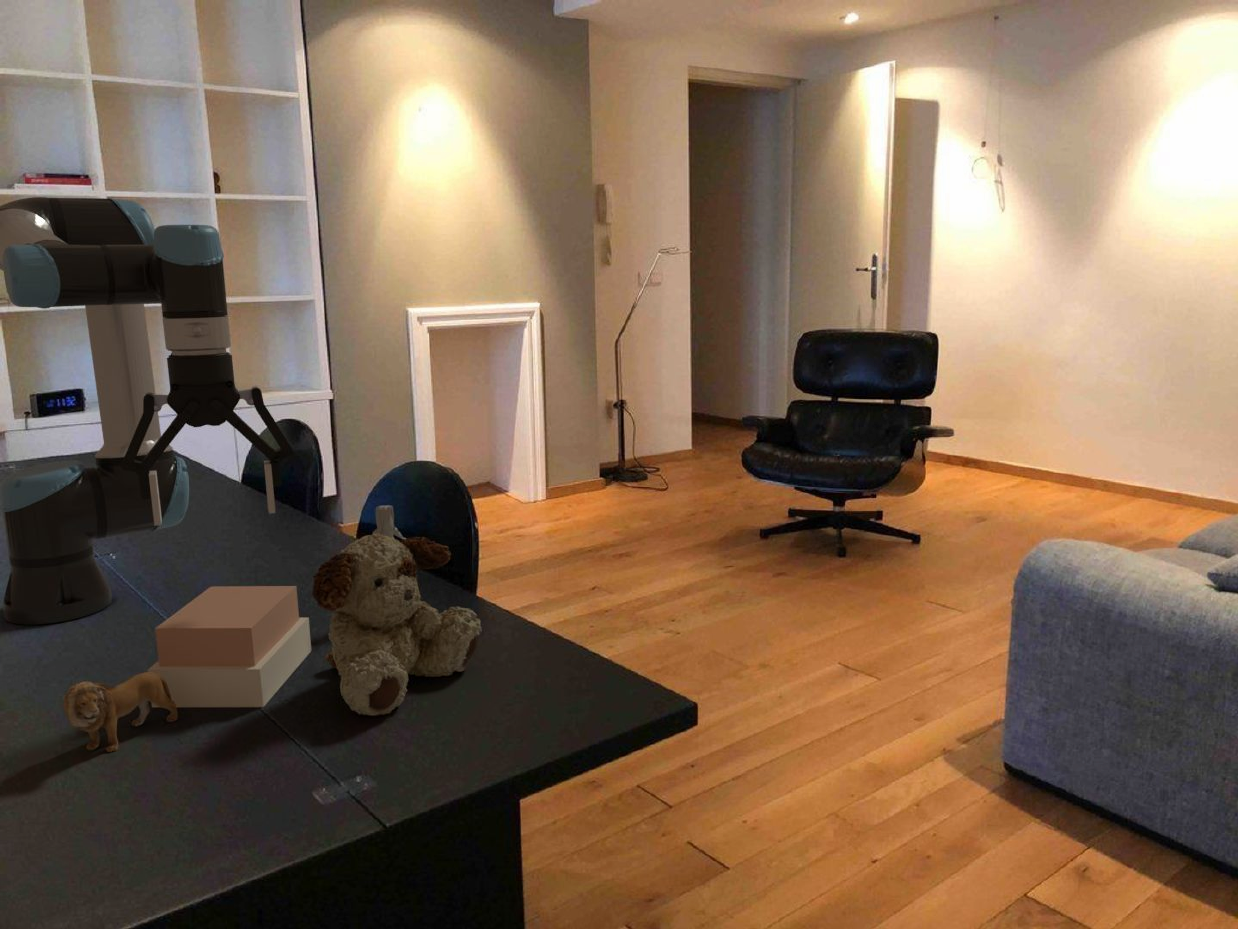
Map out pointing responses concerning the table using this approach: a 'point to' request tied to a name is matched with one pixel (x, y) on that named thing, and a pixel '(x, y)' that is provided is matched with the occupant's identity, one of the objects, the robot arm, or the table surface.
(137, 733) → the table surface
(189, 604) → the stacked block pedestal
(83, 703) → the lion figurine
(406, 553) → the dog
